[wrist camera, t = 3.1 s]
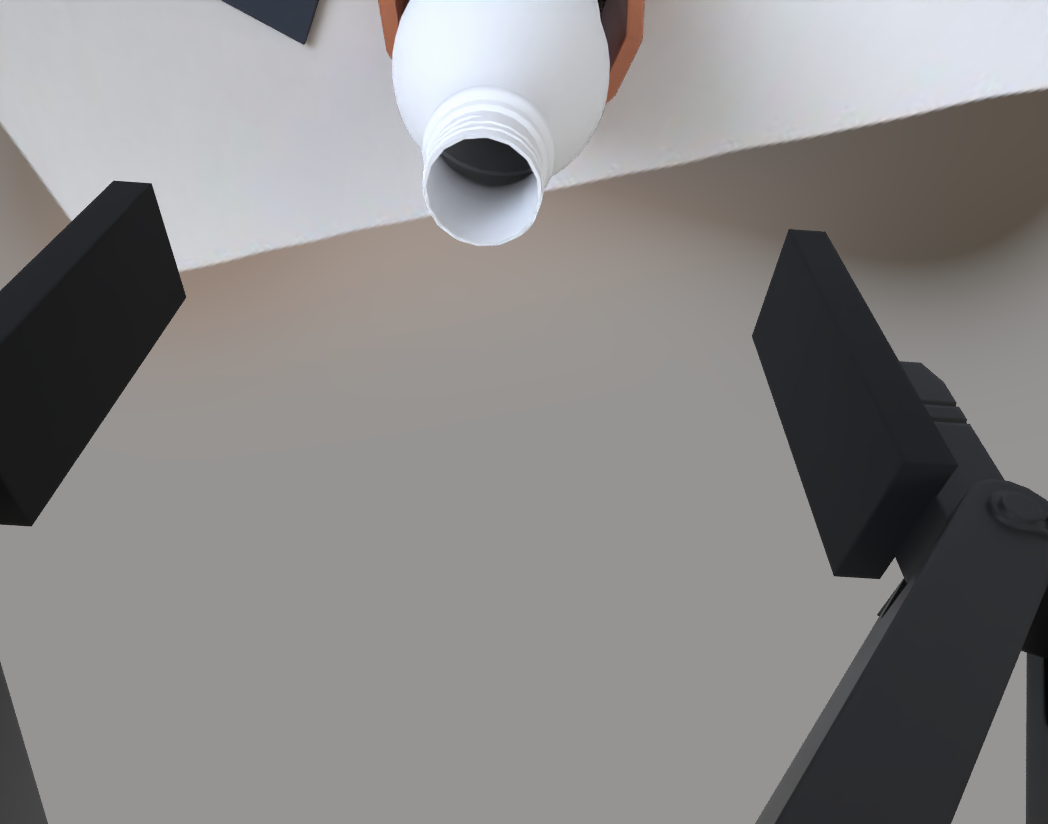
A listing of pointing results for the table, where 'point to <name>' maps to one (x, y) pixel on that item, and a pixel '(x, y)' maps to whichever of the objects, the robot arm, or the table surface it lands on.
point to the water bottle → (497, 104)
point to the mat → (281, 15)
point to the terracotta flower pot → (617, 19)
